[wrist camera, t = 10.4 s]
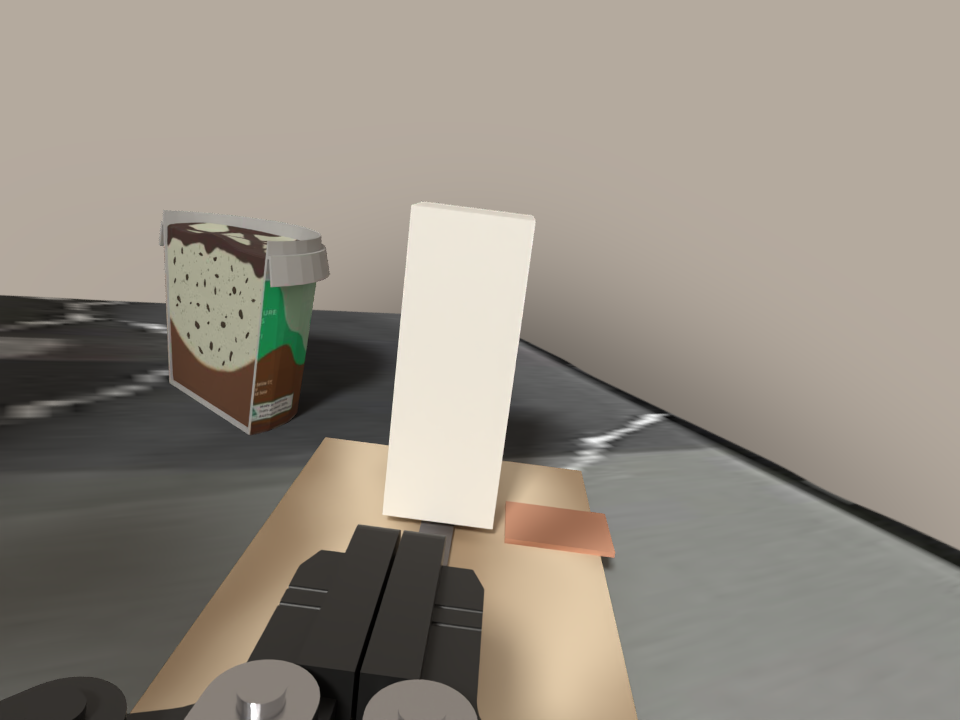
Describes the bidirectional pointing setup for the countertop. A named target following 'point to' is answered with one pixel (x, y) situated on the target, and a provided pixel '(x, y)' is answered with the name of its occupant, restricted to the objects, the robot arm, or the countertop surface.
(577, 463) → the countertop surface
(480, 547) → the fader board
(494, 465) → the fader knob
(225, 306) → the food container
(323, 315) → the countertop surface
